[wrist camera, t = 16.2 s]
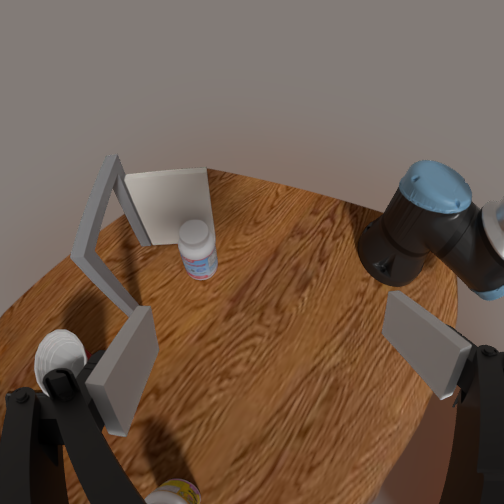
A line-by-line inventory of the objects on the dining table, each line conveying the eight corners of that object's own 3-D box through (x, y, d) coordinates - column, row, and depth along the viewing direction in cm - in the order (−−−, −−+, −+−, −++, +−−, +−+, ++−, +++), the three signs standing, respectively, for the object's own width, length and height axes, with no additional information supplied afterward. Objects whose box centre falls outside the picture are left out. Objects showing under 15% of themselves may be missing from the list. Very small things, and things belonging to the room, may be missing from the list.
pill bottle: (180, 274, 51) (166, 240, 41) (195, 248, 54) (186, 211, 44) (209, 286, 50) (201, 253, 40) (223, 258, 53) (219, 222, 43)
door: (152, 244, 53) (124, 180, 38) (154, 234, 55) (127, 169, 39) (215, 241, 54) (206, 172, 39) (215, 231, 55) (206, 161, 40)
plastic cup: (88, 336, 43) (53, 314, 33) (131, 369, 41) (99, 355, 31) (62, 381, 38) (22, 369, 28) (103, 418, 36) (65, 416, 26)
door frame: (152, 237, 55) (117, 154, 36) (142, 320, 46) (83, 256, 27) (143, 238, 55) (106, 156, 36) (132, 320, 46) (70, 257, 27)
